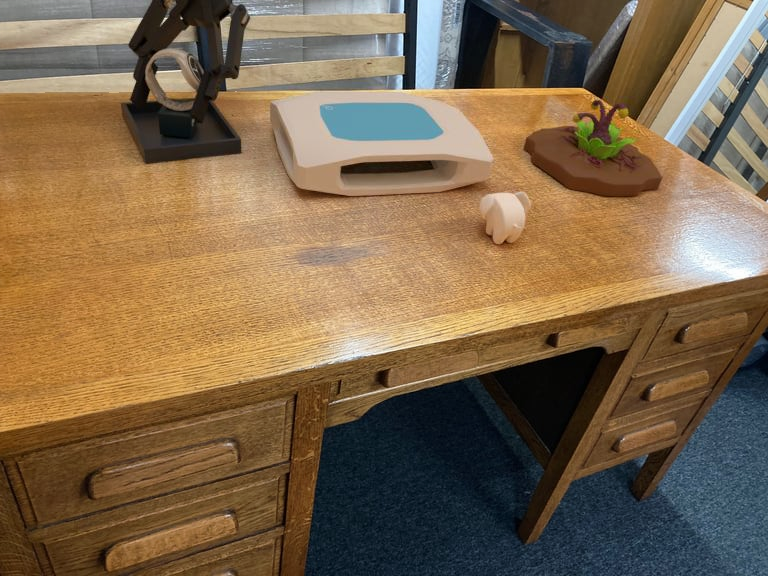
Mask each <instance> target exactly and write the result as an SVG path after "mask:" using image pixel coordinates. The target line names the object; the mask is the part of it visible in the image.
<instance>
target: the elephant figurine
mask: <svg viewBox="0 0 768 576" xmlns="http://www.w3.org/2000/svg"><path fill="white" fill-rule="evenodd" d="M531 208H532V203H531V200H530V198H529V196H528V194H526V192H524V191H522V190H521V191H517V192H516V193H511V192H494V193H487V194H486V195H484V196H483V197H482V198H481V199H480V202H479V207H478V209H479V213H480V216H481V217H482V219H485V218H486V224H485V225H486V226H485V233H486V235H488V236H492V241H493V243H494V244H496V245H501V244H503V243H504V241H506V242H507V243H508V244H513V243H515V242H516V241H517V240H518V239H519V237H520V236H521V234H522V233H523V231H524V228H525V226H526V225H525V224H526V215H527V214H528V213H529V212H530V211H531Z"/></svg>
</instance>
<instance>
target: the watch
mask: <svg viewBox="0 0 768 576" xmlns="http://www.w3.org/2000/svg"><path fill="white" fill-rule="evenodd" d="M163 57H172V58H174V60H175V61H176V63H178V65H179V68H180V71H181V73H182V76H183V77H184V79H185V81H186V82H187V84H188V85H189V86H190V87H191V88H192V89H193V90H195V92H196V93H197V91H198V88H199V85H200V82H201V79H202V76H203V73H204V68H203V67H202V65H201V63H200V62H199V60H198V58H196V56H194V55H193V54H192V53H191V52H186V51H185V50H183V49H179V48H174V47H167V48H166V49H163V50H160V51H158V52H157V53H156V54H154V56H153V57H152V58H151V60H150V61H149V63H148V64H147V66H146V70H145V74H146V75H145V76H146V77H145V80H146V83H147V85H148V87H149V89H150V93H151V94H152V95H153V97H154V99H155V101H158V102H159V103H160V104H163V105H162V107H161V109H160V111H159V113H158V119H159V129H160V135H170V136H180V137H192V135H193V133H194V130H195V128H196V125H197V122H196V121H195V120H194V119H193V118H192V117H191V115H190V112H191V109H192V106H193V103H194V101H190V100H181V99H182V98H170V97H167V96H166V95H167V93H166V92H165V91H164V89H163V88H162V86H161V85H160V84H159V82H158V80H157V77H156V75H154V73H153V69H151V64H152V62H153V61H154V60H156V59H157V58H158V59H159V58H163ZM158 59H157V60H158ZM157 60H156V61H157Z"/></svg>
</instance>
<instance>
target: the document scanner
mask: <svg viewBox="0 0 768 576" xmlns="http://www.w3.org/2000/svg"><path fill="white" fill-rule="evenodd" d="M269 103H270V104H269V108H270V109H269V123H270V124H271V127H272V130H273V133H274V137H275V141H276V142H275V143H276V149H277V151H278V154H279V156H280V159H281V161H282V163H283V166H284V168H285V169H284V170H285V172H286V174H287V176H288V177H289V178H290V179H291V181H292V183H294V185H295V186H296V187H297V188H299V189H301V190H308V191H312V192H313V191H314V192H320V193H328V194H334V195H342V196H348V197H358V196H361V197H362V196H380V195H382V196H383V195H401V194H403V195H404V194H420V193H421V194H422V193H423V194H424V193H441V192H446V191H449V190H454V189H458V188H461V187H466V186H469V185H474V184H478V183H481V182H485V181H487V180H489V179H490V176H491V174H492V169H493V165H494V162H495V158H494V156H493V155H492V152H491V150H490V149H489V147H488V145H487V143H486V141H485V139H484V138H483V137H484V136H483V135H482V134H481V132H480V130H479V129H477V127H475V125H474V124H472V122H471V121H470V120H469V119H468V118H467V117H466V116H465V115H464V114H463V113H462V112H461V111H460V110H459V109H458V107H455V106H452V105H450V104H447V103H445V102H443V101H440V100H437V99H434V98H429V97H425V96H421V95H416V94H412V93H409V92H403V91H345V90H344V91H342V90H340V91H339V90H337V91H336V90H335V91H334V90H333V91H331V90H330V91H328V90H321V91H319V90H318V91H313V92H308V93H303V94H302V93H301V94H297V95H294V96H293V95H292V96H289V97H284V98H279V99H274V100H271V101H270V102H269ZM413 161H414V162H416V161H417V162H418V161H430V162H431V164H432V167H433V168H432V169H426V170H425V169H424V170H415V171H406V172H405V171H404V172H383V173H343V172H341V171H342V167H344V166H349V165H354V164H360V163H380V162H381V163H382V162H383V163H385V162H413Z"/></svg>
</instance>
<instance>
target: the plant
mask: <svg viewBox="0 0 768 576" xmlns="http://www.w3.org/2000/svg"><path fill="white" fill-rule="evenodd" d="M590 108H591V109H592V110H597V109H600V110H599V112H600V115H599V119H597V117H596V116H595V114H593V113H589V112H580V113H579V112H578V113H576V114H574V115H573V117H572V122H573V123H576V125H577V126H574V125H563V126H561V125H560V126H557V127H551V128H550V127H549V128H541V129H539V130H534V131H533V132H532V133H531V134H530V135H528V136H526V139H525V141H524V145H523V150H524V149H525V150H524V151H525V152H527V153H529V154H530V155H531V158H530V161H531V163H532V164H533V165H534V166H537V167H538V168H539V169H541V170H542V171H544V172H545V173H546V174H549V175H550V176H551V177H552V178H554V179H555V180H557V182H559V183H561V184H562V185H563V186H565V187H566V188H567V189H569V190H572V191H579V192H585V193H590V194H591V193H592V194H594V195H598V196H603V197H636V196H638V195H639V194H640V193H641V192H645V191H644V190H646V191H650V190H649V189H657V188H658V189H659V188H660V185H661V182H662V181H663V176H662V175H661V173H660V170H659V169H658V167H657V166H656V164H655V163H654V161H653V160H652V159H651V157H649V156H648V155H646V154H644V153H642V152H640V151H639V148H638V147H637V146H634V145H633V144H632V143H635V142H636V138H631V137H627V138H622V137H619V135H620V134H621V132H622V128H620V127H617V128H616V125H615V123H613V122H612V121H613V116H614V115H615V114H616V112H618V113H617V114H618V116H619V118H621V119H626V118H627V117H628V116H629V109H628V107H627V106H626V105H625V104H624V103H621V102H620V103H616V104H614V105H613V106H612V107H611V109H609V110H608V112H607V113H606V107H605V105H604V103H603V102H602V100H600V99H595V100H593V101H592V102H591V103H590ZM617 110H618V111H617ZM584 118H590V121H589V125H587V123H586V122H584V120H583V119H584ZM658 189H657V190H658Z"/></svg>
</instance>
